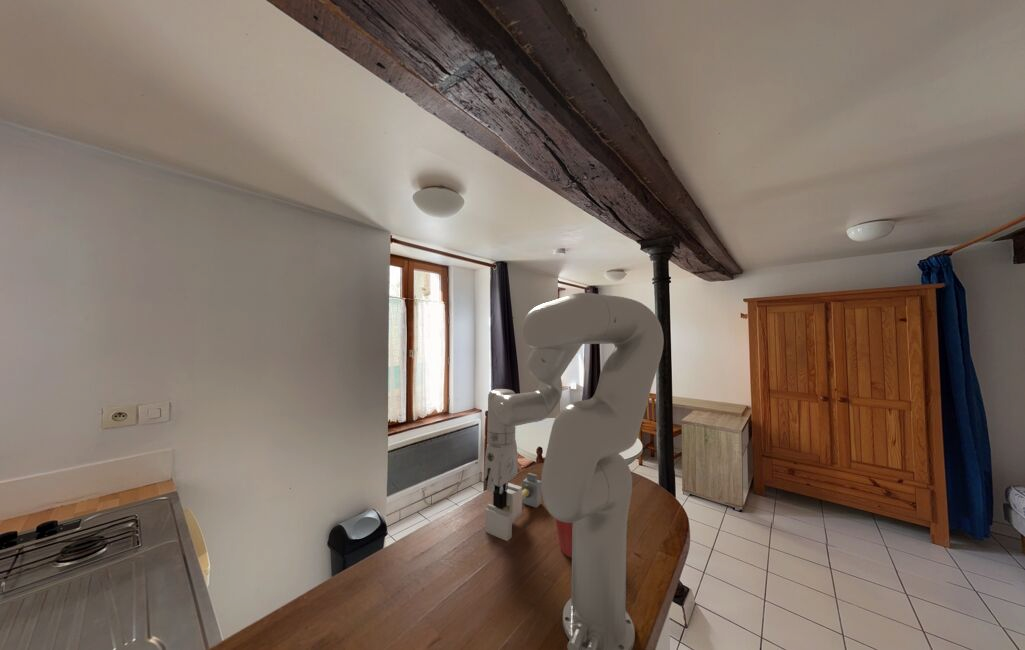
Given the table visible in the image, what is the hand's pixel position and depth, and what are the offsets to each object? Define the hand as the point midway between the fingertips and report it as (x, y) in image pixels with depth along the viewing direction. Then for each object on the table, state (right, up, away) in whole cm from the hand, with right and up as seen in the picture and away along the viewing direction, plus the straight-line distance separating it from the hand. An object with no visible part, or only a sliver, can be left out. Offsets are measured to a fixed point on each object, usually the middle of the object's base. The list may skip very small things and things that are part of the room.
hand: (499, 505), depth 84 cm
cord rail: (+5, -8, +8) cm, 12 cm away
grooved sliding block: (+2, -5, +4) cm, 7 cm away
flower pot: (+19, -8, -6) cm, 21 cm away
